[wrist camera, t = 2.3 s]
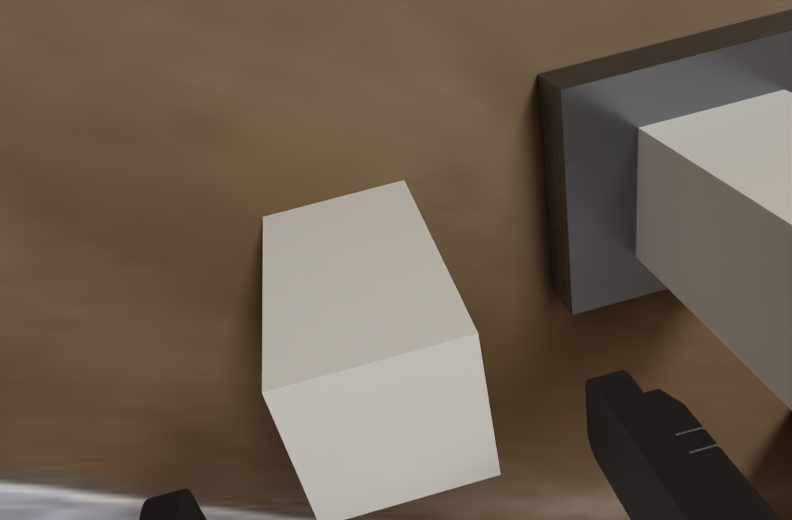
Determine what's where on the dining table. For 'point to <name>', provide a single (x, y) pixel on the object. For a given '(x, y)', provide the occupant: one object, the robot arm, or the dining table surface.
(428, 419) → the pale square block
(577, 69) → the grey tray
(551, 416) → the dining table surface
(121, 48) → the dining table surface
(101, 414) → the dining table surface
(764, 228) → the white rectangular block
